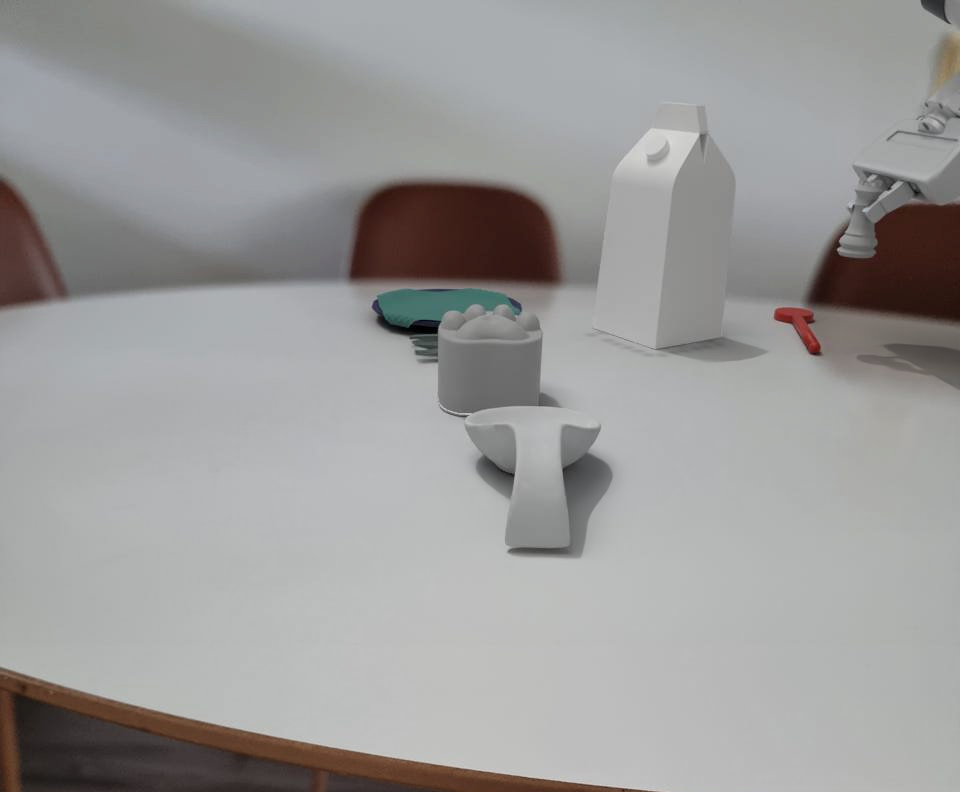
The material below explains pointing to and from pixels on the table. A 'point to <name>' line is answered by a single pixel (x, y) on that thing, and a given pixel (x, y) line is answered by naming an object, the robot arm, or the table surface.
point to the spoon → (800, 324)
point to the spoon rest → (534, 465)
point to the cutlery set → (434, 309)
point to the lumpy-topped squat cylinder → (488, 359)
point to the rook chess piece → (861, 223)
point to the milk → (667, 235)
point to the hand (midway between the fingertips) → (859, 215)
